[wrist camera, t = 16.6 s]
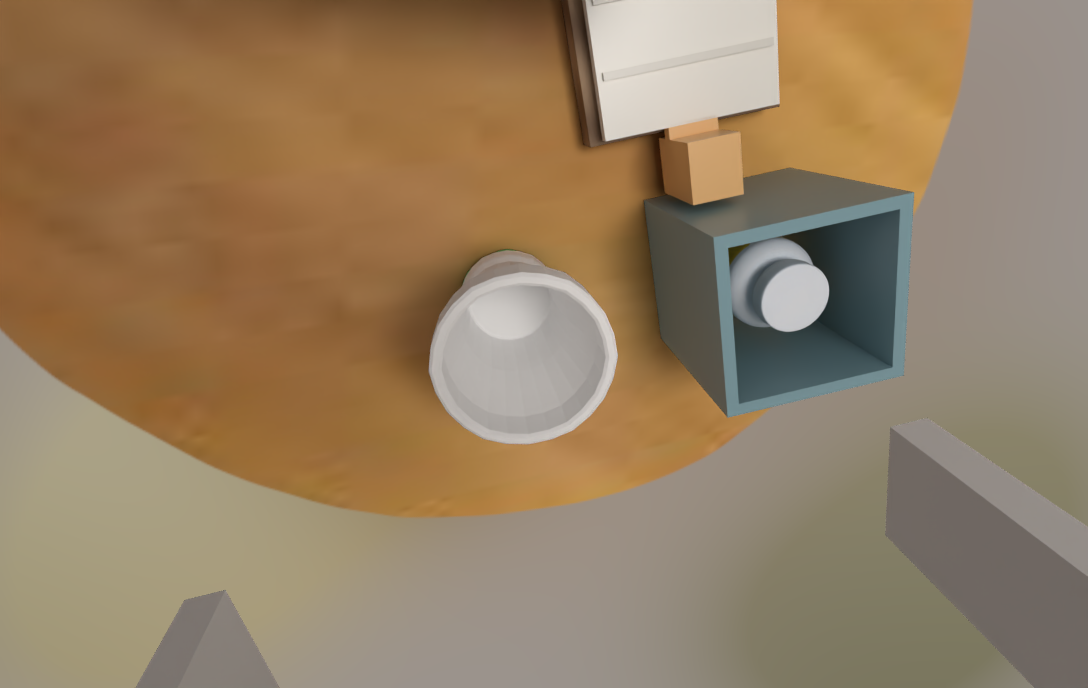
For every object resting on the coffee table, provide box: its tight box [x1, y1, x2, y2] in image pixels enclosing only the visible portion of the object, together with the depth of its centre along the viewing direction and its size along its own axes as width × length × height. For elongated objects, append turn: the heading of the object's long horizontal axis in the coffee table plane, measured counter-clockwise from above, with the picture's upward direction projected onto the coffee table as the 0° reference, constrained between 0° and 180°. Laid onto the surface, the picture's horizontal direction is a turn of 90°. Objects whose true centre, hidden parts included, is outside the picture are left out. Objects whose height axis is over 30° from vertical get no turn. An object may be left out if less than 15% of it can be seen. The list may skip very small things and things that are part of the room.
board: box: [561, 0, 779, 147], centre depth 40 cm, size 15×14×2 cm
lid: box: [582, 0, 779, 205], centre depth 39 cm, size 17×12×6 cm
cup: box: [429, 249, 618, 444], centre depth 41 cm, size 11×11×14 cm
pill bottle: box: [728, 236, 829, 332], centre depth 44 cm, size 6×6×12 cm
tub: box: [644, 168, 914, 417], centre depth 42 cm, size 12×12×14 cm
